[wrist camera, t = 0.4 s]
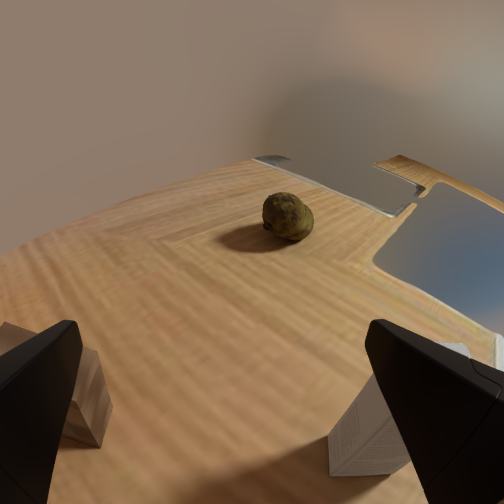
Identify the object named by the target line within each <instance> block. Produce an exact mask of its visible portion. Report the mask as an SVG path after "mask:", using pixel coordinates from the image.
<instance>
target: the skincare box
mask: <svg viewBox="0 0 504 504" xmlns="http://www.w3.org/2000/svg"><path fill="white" fill-rule="evenodd" d="M436 343H438V344H440V345H443V346H445V347H447V348H449V349H451V350H454V351H456V352H458V353H460V354H463V355H465V356H467V357H469V358H472V357H471V355H470V353H469V351H468V349H467V347H466V346H465V344H461V343H444V342H436ZM328 450H329V475H330V476H367V475H382V474H393V473H395V472H397V471H398V470H399V469H401V468H402V467H403V466H405V465H406V464H407V463H409V462H410V461H411V458H410V456H409V453H408V451H407V449H406V446H405V444H404V442H403V439H402V437H401V435H400V433H399V430H398V428H397V426H396V423H395V421H394V419H393V417H392V415H391V412H390V410H389V408H388V406H387V404H386V401H385V399H384V397H383V395H382V393H381V390H380V388H379V386H378V383H377V381H376V378H375V375H374V372H373V374H372V376H371V377H370V378H369V380H368V381H367V383H366V384H365V386H364V387H363V389H362V390H361V392H360V393H359V394H358V396H357V397H356V398H355V400H354V401H353V403H352V404H351V405H350V407H349V408H348V409H347V411H346V412H345V413H344V415H343V416H342V417H341V419H340V420H339V421H338V423H337V424H336V425H335V426H334V428H333V429H332V430H331V431H330V433H329V434H328Z"/></svg>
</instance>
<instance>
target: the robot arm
mask: <svg viewBox="0 0 504 504" xmlns="http://www.w3.org/2000/svg"><path fill="white" fill-rule="evenodd" d="M365 349H366V352H367V355H368V357H369V360H370V363H371V366H372V369H373V372H374V375H375V378H376V381H377V383H378V386H379V388H380V390H381V393H382V395H383V397H384V399H385V401H386V404H387V406H388V408H389V410H390V412H391V415H392V417H393V419H394V421H395V423H396V426H397V428H398V430H399V433H400V435H401V437H402V439H403V442H404V444H405V446H406V449H407V451H408V453H409V456H410V458H411V461H412V463H413V465H414V468H415V470H416V473H417V475H418V478H419V480H420V483H421V485H422V488H423V489H424V493H425V496H426V498H427V501H428V503H429V504H504V372H503V371H500V370H498V369H495V368H493V367H490V366H488V365H485V364H483V363H481V362H478V361H476V360H474V359H472V358H469V357H467V356H465V355H463V354H460V353H458V352H456V351H454V350H451V349H449V348H447V347H445V346H443V345H440V344H438V343H436V342H434V341H432V340H429V339H427V338H425V337H423V336H420V335H418V334H416V333H414V332H412V331H409V330H407V329H405V328H403V327H401V326H398V325H396V324H394V323H392V322H390V321H387V320H385V319H376V320H372V321H371V323H370V326H369V329H368V332H367V336H366V339H365ZM82 351H83V344H82V340H81V336H80V332H79V328H78V325H77V323H76V322H75V321H72V320H62V321H60V322H59V323H57V324H55V325H53V326H52V327H50V328H48V329H46V330H44V331H43V332H41V333H39V334H37V335H35V336H34V337H32V338H30V339H28V340H27V341H25V342H23V343H21V344H20V345H18V346H16V347H14V348H13V349H11V350H9V351H7V352H6V353H4V354H2V355H1V356H0V504H47V500H48V494H49V488H50V483H51V478H52V473H53V469H54V464H55V460H56V455H57V451H58V447H59V443H60V439H61V435H62V431H63V428H64V424H65V420H66V417H67V413H68V410H69V407H70V403H71V400H72V397H73V393H74V389H75V384H76V379H77V374H78V369H79V365H80V360H81V355H82Z"/></svg>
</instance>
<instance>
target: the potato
mask: <svg viewBox="0 0 504 504" xmlns="http://www.w3.org/2000/svg"><path fill="white" fill-rule="evenodd" d="M262 217H263V221H264V224H263V227H264V229H266V230H270V231H271V232H272V233H273V234H274V235H276V236H278V237H282V238H287V239H290V240H302V239H304V238H305V237H307V236H308V235H309V234H310V232H311V231H312V229H313V225H314V218H313V214H312V212H311V210H310V209H309V208H308V207H307V206H306V205H305V204H303V202H302V201H301V200H300V199H299V198H298V197H296V196H295V195H293V194H290V193H286V192H279V193H275V194H273V195H271V196H270V195H269V196H268V198H267V199H266V200H265V202H264V204H263V213H262Z"/></svg>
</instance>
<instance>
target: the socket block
mask: <svg viewBox="0 0 504 504" xmlns="http://www.w3.org/2000/svg"><path fill="white" fill-rule="evenodd" d="M37 334H38V333H35V332H32V331H29V330H26V329H23V328H20V327H18V326H15V325H12V324H10V323H7V322H4V323H3V324H2V326H1V327H0V356H1V355H2V354H4V353H6V352H7V351H9V350H11V349H13V348H14V347H16V346H18V345H20V344H21V343H23V342H25V341H27V340H28V339H30V338H32V337H34V336H35V335H37ZM112 408H113V405H112V402H111V399H110V396H109V393H108V389H107V386H106V383H105V379H104V375H103V372H102V368H101V364H100V361H99V357H98V353H97V351H95V350H91V349H88V348H84V347H83V351H82V355H81V360H80V365H79V369H78V374H77V379H76V384H75V389H74V393H73V397H72V400H71V403H70V407H69V410H68V413H67V417H66V420H65V424H64V428H63V431H62V436H65V437H68V438H70V439H73V440H76V441H79V442H82V443H85V444H88V445H91V446H94V447H98V448H101V444H102V441H103V437H104V434H105V431H106V427H107V424H108V421H109V417H110V414H111V411H112Z"/></svg>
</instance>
